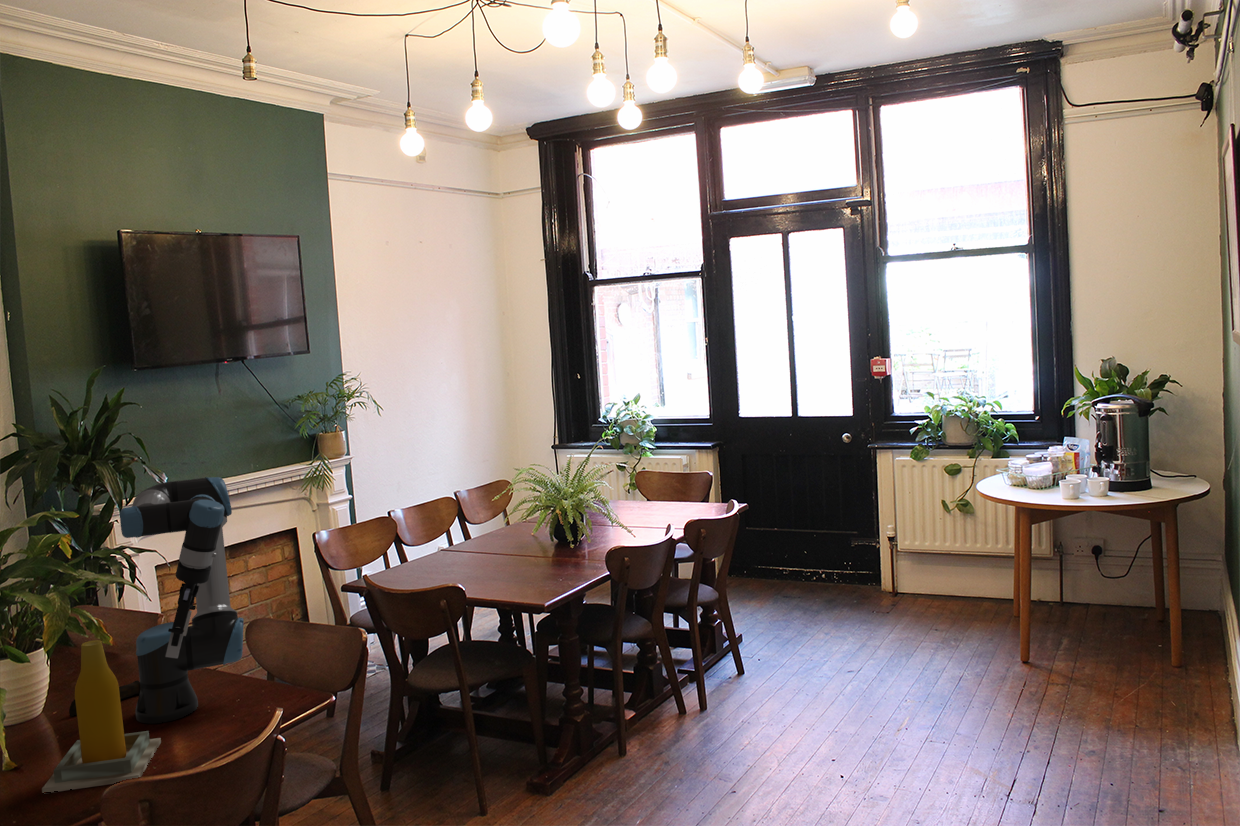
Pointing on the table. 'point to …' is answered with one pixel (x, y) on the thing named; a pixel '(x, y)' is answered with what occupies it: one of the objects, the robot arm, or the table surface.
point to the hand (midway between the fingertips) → (176, 645)
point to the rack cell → (103, 765)
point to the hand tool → (123, 690)
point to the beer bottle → (98, 707)
